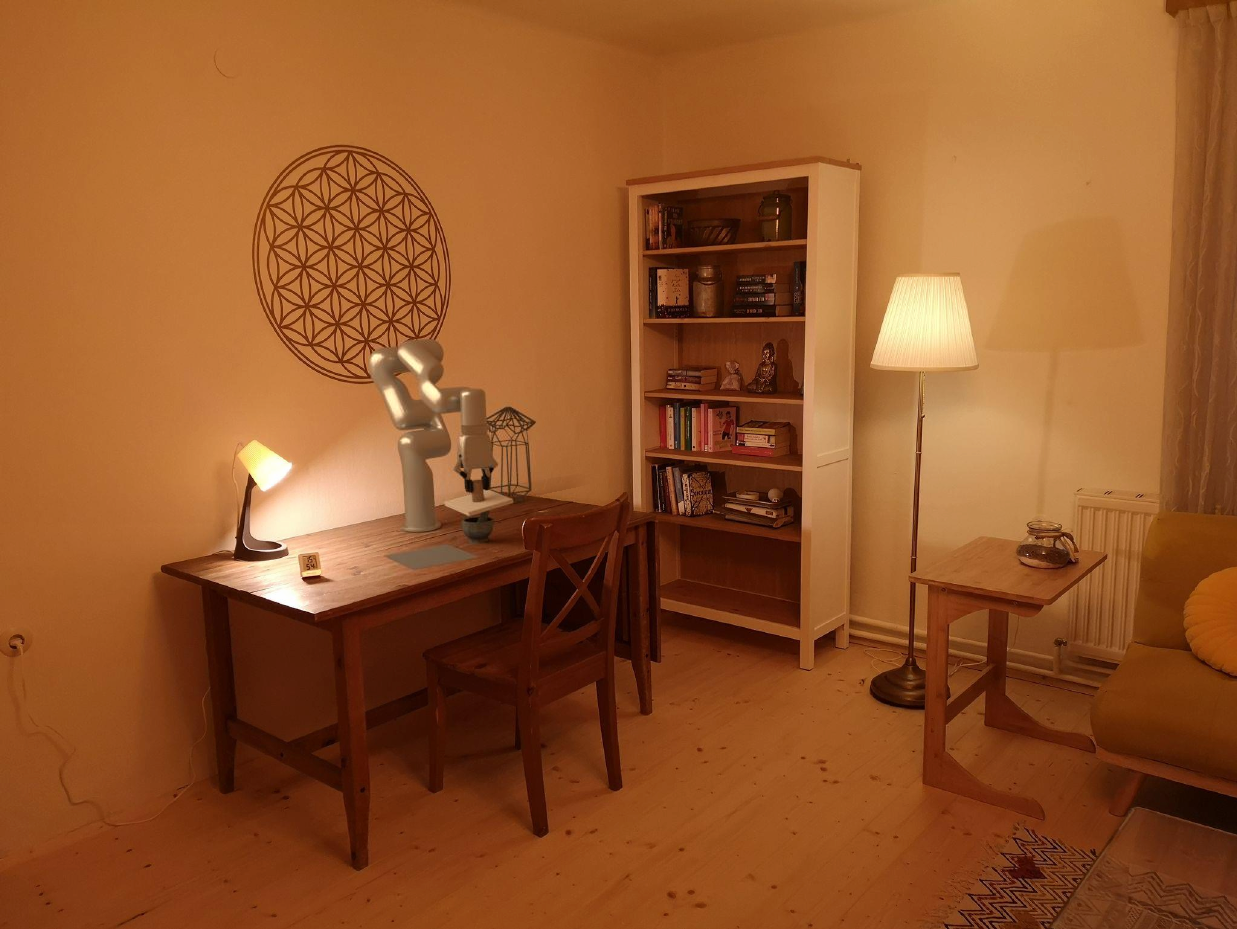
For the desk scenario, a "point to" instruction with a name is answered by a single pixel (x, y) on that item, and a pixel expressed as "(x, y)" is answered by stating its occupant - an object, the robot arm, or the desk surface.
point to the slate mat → (430, 556)
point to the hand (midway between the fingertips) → (477, 490)
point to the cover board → (478, 506)
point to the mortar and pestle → (478, 527)
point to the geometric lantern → (532, 422)
